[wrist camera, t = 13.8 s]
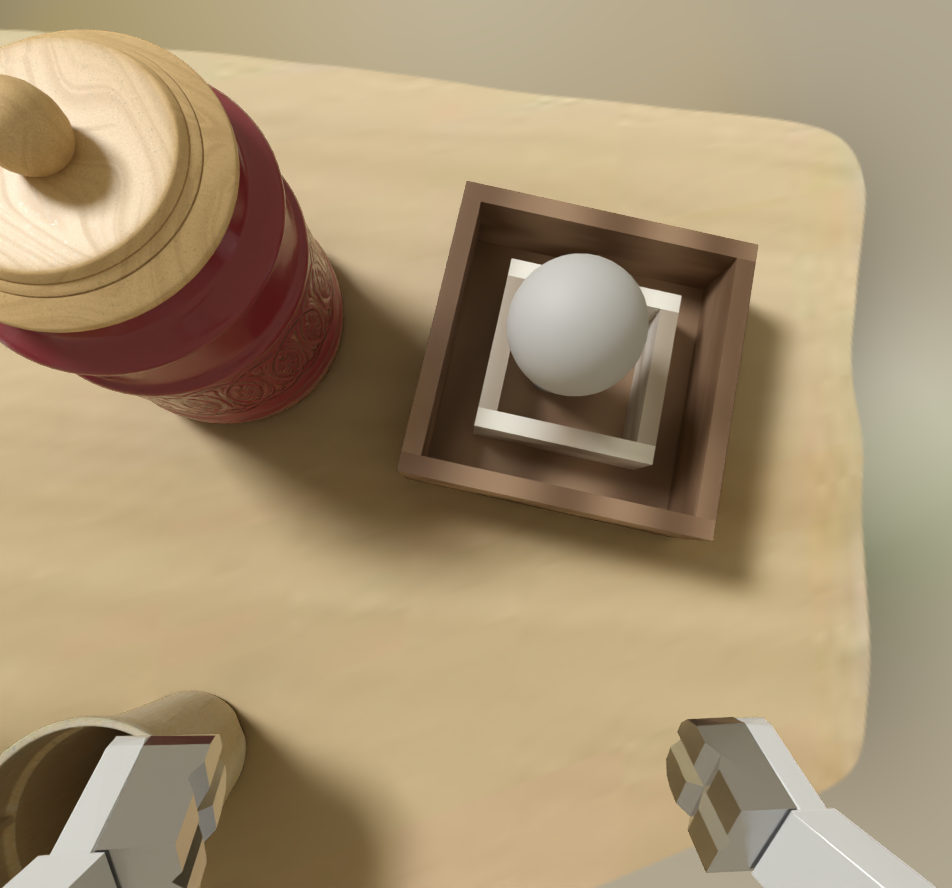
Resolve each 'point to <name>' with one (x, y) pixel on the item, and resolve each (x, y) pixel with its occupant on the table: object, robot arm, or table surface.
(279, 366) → the canister
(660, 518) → the socket box
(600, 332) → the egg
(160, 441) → the table surface
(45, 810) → the flower pot
